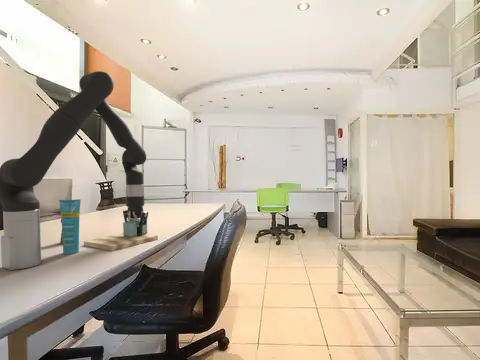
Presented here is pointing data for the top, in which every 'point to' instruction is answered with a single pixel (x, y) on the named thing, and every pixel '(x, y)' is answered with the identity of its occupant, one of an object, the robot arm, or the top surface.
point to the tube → (70, 225)
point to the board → (119, 241)
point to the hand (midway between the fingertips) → (135, 234)
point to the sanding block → (132, 229)
